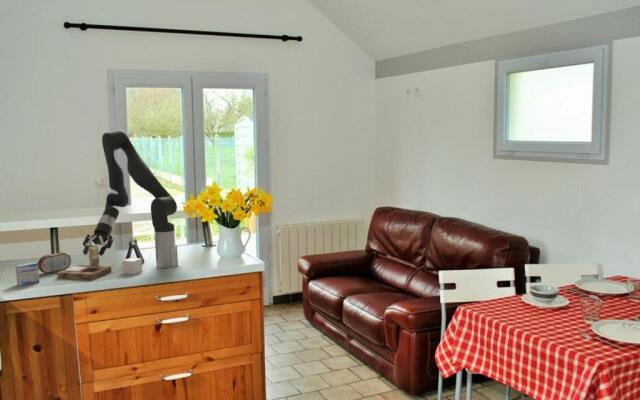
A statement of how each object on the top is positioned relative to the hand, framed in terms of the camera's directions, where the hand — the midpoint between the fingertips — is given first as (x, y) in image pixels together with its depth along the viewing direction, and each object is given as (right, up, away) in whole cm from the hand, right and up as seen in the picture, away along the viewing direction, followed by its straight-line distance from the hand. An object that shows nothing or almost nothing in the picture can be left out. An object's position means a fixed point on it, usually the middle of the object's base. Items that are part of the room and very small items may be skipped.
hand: (92, 254), depth 282 cm
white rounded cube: (+22, -8, -8) cm, 24 cm away
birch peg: (0, -6, +2) cm, 7 cm away
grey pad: (-3, -6, -11) cm, 13 cm away
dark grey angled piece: (+18, -5, +8) cm, 20 cm away
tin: (-16, -8, -4) cm, 18 cm away
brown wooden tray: (+1, -8, -12) cm, 14 cm away
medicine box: (-19, -11, -24) cm, 32 cm away
